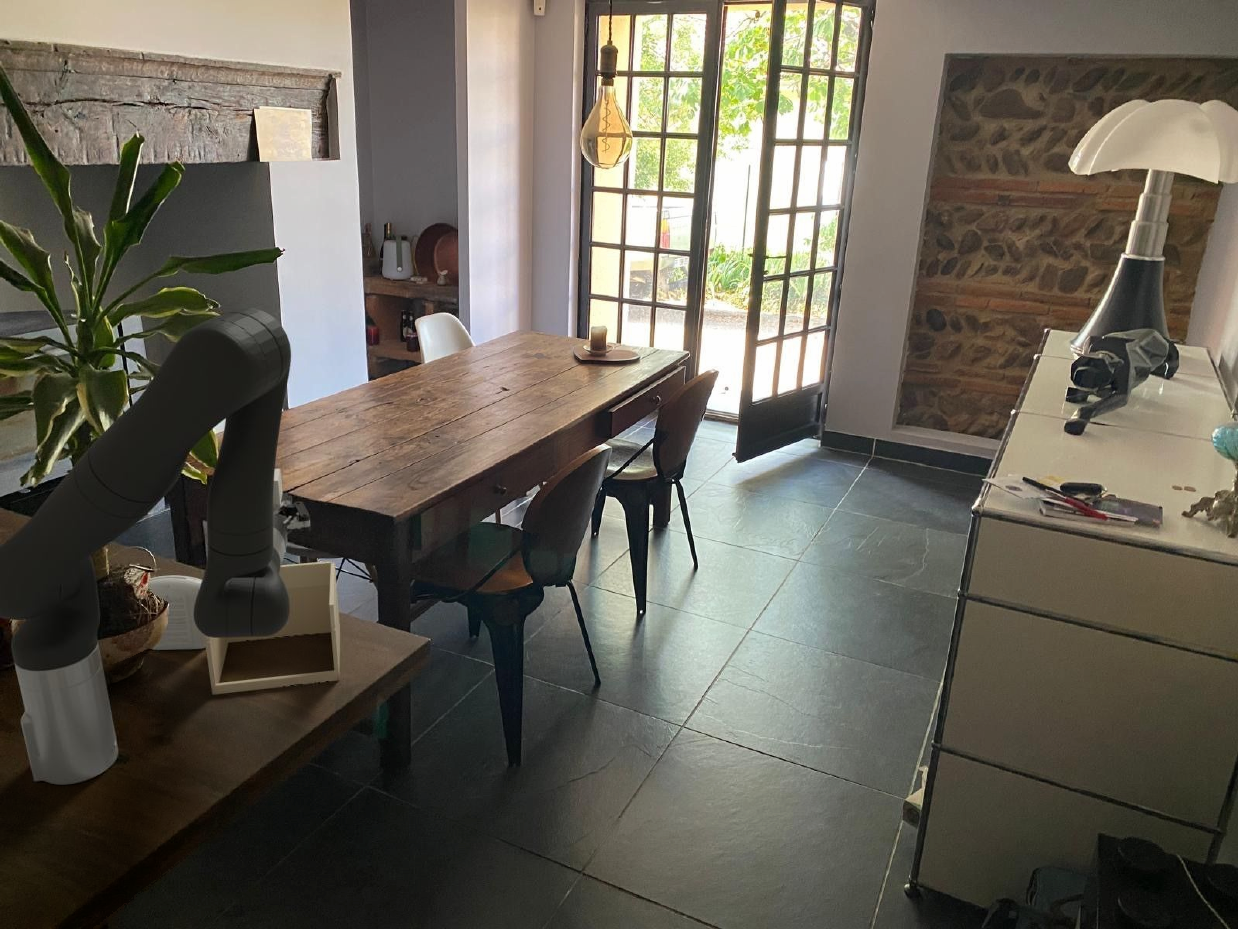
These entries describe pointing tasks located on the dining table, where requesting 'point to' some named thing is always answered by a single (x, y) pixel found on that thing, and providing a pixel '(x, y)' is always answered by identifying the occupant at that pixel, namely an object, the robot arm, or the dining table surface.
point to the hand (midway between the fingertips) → (265, 499)
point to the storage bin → (291, 626)
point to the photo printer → (179, 612)
